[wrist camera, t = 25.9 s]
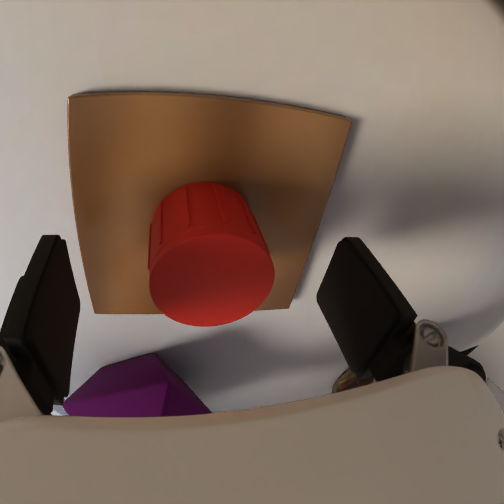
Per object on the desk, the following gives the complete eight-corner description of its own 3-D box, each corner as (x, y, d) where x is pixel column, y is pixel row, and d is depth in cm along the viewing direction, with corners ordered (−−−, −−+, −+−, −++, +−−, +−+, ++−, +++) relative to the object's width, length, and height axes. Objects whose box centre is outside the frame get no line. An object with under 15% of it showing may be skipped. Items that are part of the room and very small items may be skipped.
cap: (269, 204, 12) (298, 258, 9) (221, 275, 14) (236, 335, 11) (177, 164, 10) (180, 214, 8) (137, 249, 12) (133, 312, 9)
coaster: (95, 305, 14) (94, 314, 13) (72, 93, 8) (66, 97, 8) (285, 300, 17) (289, 308, 16) (345, 116, 11) (352, 121, 10)
